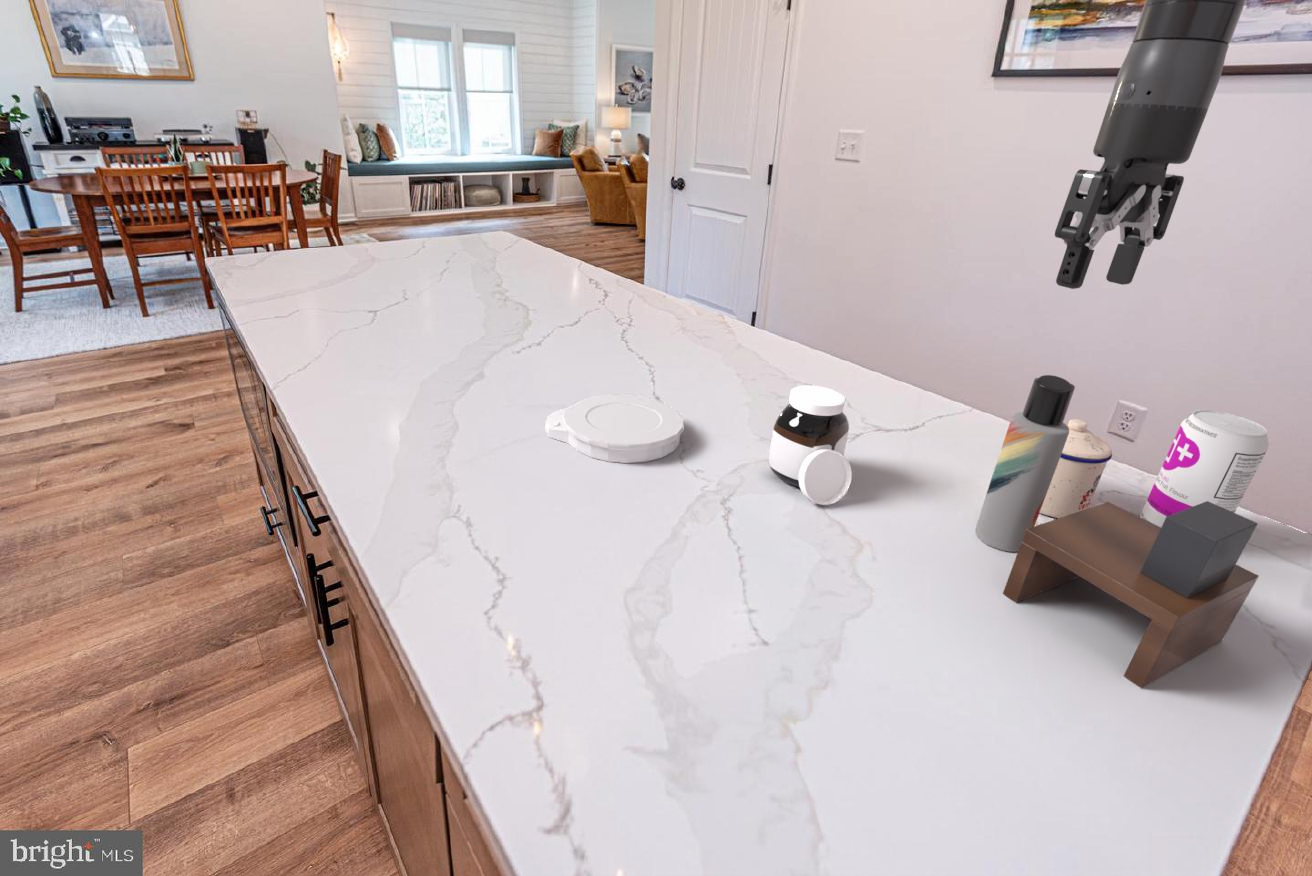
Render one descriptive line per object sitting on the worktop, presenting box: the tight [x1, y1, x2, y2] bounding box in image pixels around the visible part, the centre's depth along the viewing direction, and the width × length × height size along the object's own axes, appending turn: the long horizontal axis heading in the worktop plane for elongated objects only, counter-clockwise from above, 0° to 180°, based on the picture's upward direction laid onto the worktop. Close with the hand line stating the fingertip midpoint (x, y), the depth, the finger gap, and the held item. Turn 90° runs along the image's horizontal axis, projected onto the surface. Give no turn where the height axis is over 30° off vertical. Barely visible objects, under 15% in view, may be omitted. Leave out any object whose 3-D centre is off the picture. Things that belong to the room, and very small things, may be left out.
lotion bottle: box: [975, 374, 1076, 553], centre depth 75 cm, size 6×6×20 cm
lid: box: [544, 393, 685, 464], centre depth 97 cm, size 17×20×3 cm
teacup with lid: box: [1039, 418, 1113, 519], centre depth 87 cm, size 12×9×12 cm
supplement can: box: [1139, 409, 1270, 527], centre depth 81 cm, size 8×8×15 cm
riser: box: [1002, 501, 1260, 689], centre depth 66 cm, size 14×14×8 cm
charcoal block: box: [1141, 501, 1258, 598], centre depth 60 cm, size 7×4×6 cm, turn 118°
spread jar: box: [768, 384, 853, 506], centre depth 86 cm, size 12×11×12 cm
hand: (1093, 284), depth 67 cm, fingers open, 8 cm apart
